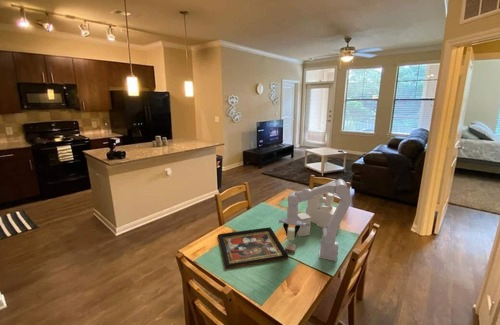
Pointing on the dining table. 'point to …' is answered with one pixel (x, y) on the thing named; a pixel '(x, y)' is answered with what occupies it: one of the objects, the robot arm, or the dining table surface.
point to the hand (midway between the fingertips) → (291, 235)
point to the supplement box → (307, 219)
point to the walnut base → (290, 248)
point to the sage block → (290, 233)
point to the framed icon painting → (250, 247)
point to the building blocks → (321, 209)
